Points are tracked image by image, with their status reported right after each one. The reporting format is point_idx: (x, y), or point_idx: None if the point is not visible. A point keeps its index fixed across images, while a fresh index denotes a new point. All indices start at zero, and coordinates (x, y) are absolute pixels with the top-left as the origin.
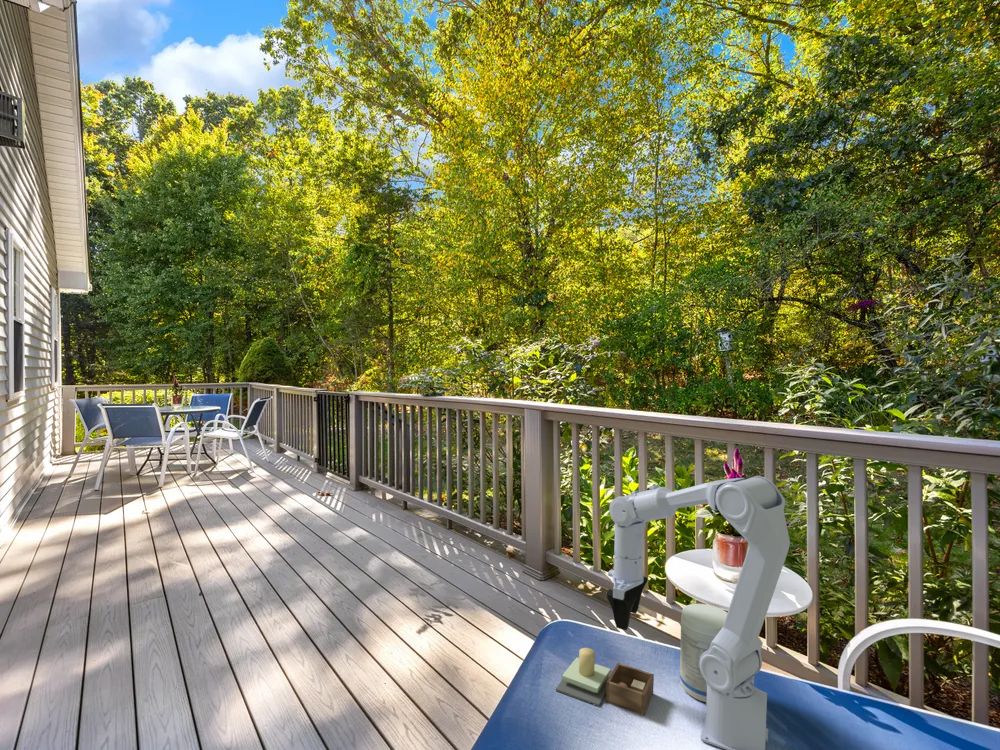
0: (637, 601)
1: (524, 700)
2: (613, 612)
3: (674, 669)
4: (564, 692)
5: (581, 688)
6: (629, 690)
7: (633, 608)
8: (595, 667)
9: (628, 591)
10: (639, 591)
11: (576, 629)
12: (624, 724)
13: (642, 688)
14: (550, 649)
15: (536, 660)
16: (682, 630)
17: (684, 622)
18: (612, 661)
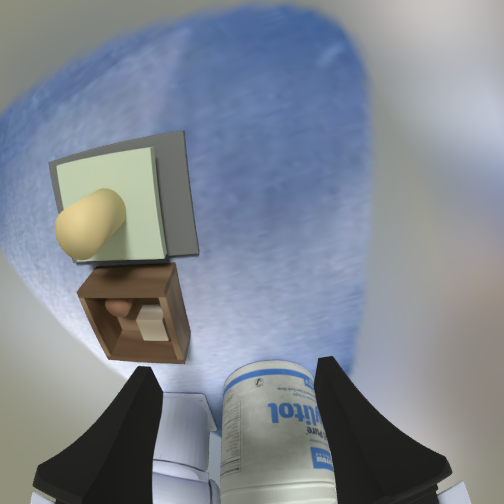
0: (327, 433)
1: (6, 134)
2: (98, 418)
3: (303, 340)
4: (52, 184)
5: None
6: (96, 336)
7: (319, 394)
8: (140, 221)
9: (348, 447)
10: (336, 479)
11: (363, 66)
12: (79, 310)
13: (147, 339)
14: (198, 38)
15: (122, 43)
16: (246, 471)
17: (241, 493)
18: (253, 221)
